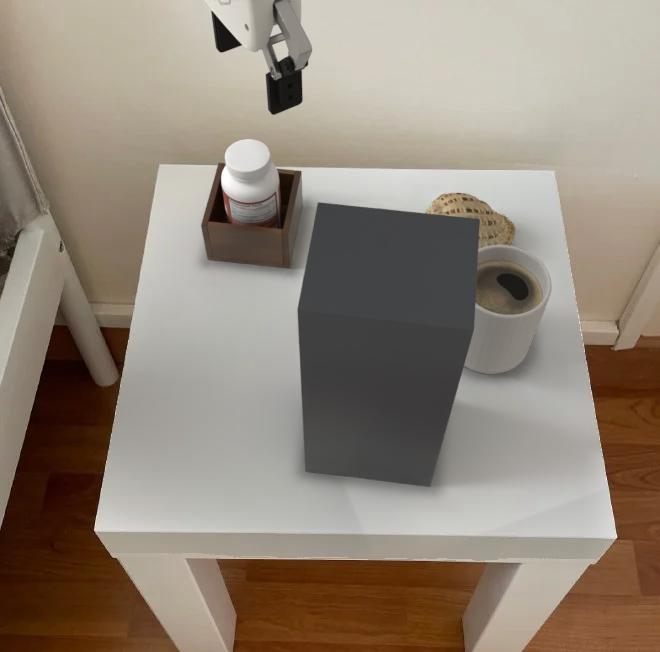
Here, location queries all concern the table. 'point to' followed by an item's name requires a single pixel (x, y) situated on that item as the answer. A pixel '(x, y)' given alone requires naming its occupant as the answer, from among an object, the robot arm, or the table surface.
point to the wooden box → (253, 227)
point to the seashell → (476, 217)
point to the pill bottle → (251, 186)
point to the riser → (383, 338)
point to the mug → (506, 307)
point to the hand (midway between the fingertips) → (258, 76)
